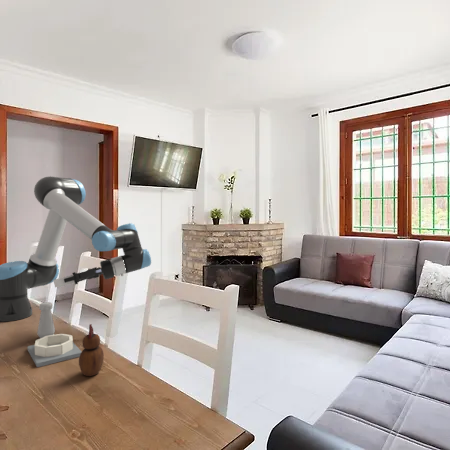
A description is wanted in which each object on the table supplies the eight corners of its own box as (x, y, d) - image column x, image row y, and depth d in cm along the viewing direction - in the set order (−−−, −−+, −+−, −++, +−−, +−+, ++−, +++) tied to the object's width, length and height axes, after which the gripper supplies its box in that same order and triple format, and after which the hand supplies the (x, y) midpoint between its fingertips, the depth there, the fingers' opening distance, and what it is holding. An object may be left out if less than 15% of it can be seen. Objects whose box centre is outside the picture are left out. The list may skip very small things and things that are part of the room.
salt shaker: (49, 341, 122) (49, 305, 121) (33, 340, 122) (33, 305, 121) (58, 335, 127) (57, 300, 127) (43, 334, 128) (42, 300, 127)
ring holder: (54, 340, 119) (54, 332, 119) (80, 345, 115) (79, 336, 115) (27, 353, 108) (26, 344, 108) (54, 358, 105) (53, 349, 105)
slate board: (27, 349, 114) (27, 346, 114) (68, 340, 122) (68, 337, 122) (37, 367, 102) (36, 363, 101) (82, 355, 110) (82, 352, 110)
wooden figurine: (93, 380, 95) (93, 326, 94) (75, 377, 96) (74, 325, 95) (107, 368, 101) (106, 319, 100) (89, 366, 102) (89, 317, 102)
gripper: (118, 275, 126) (56, 293, 116) (112, 278, 148) (59, 294, 139) (112, 255, 126) (50, 272, 117) (107, 261, 149) (54, 276, 139)
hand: (55, 284), depth 128 cm, fingers open, 13 cm apart
